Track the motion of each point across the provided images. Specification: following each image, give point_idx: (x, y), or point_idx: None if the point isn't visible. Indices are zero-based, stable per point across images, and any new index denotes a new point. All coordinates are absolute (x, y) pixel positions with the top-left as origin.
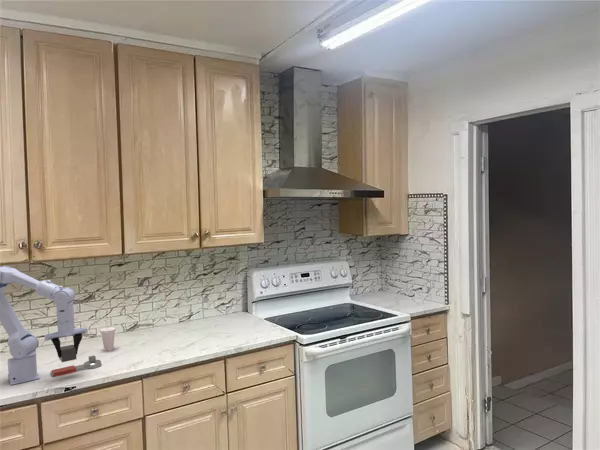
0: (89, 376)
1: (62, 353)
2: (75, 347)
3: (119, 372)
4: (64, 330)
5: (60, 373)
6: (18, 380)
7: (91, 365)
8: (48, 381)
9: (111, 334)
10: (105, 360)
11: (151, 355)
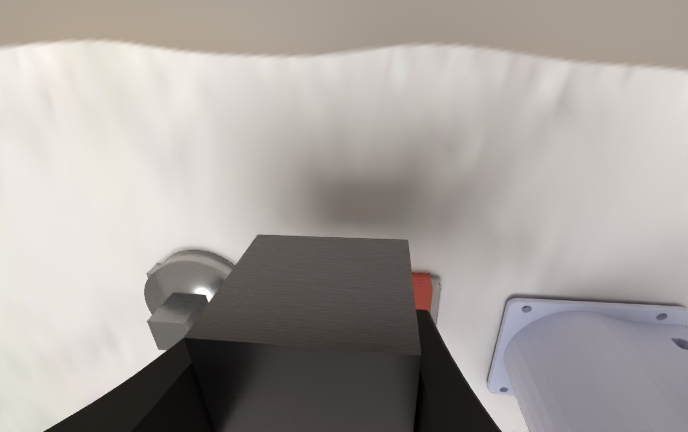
0: (228, 124)
1: (402, 311)
2: (189, 348)
3: (23, 54)
4: None
5: None
6: (641, 326)
7: (200, 266)
8: (482, 219)
9: None
10: (141, 326)
11: None
